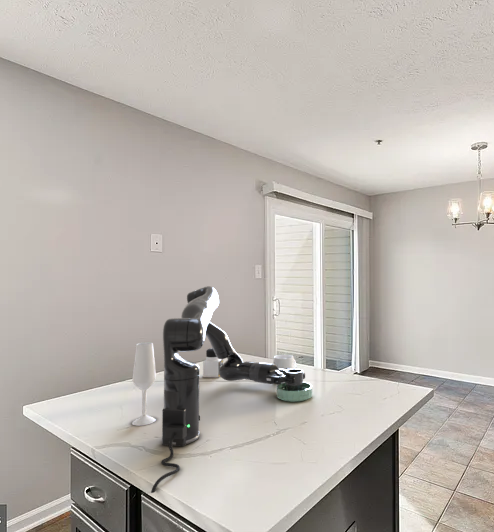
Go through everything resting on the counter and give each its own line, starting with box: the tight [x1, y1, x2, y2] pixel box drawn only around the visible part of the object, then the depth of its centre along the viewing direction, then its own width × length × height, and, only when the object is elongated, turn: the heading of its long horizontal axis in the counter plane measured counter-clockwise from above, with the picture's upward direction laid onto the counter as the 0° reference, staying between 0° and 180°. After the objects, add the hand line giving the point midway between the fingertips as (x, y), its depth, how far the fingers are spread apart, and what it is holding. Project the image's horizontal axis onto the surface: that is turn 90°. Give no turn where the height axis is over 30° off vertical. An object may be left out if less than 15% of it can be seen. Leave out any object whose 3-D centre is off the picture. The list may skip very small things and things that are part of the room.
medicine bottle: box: [202, 347, 224, 378], centre depth 171 cm, size 7×7×12 cm
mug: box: [272, 353, 297, 370], centre depth 162 cm, size 9×12×11 cm
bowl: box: [276, 381, 313, 403], centre depth 141 cm, size 13×13×4 cm
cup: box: [286, 368, 304, 391], centre depth 141 cm, size 6×6×9 cm
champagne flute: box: [131, 341, 157, 427], centre depth 117 cm, size 7×7×24 cm
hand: (299, 378), depth 140 cm, fingers closed on cup, 6 cm apart
